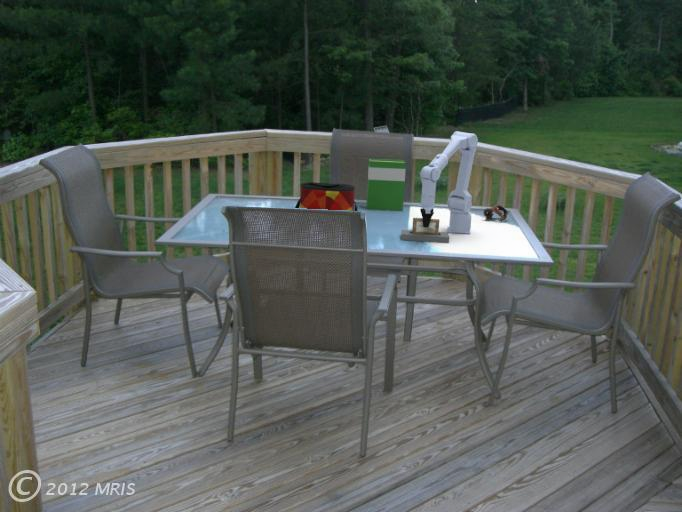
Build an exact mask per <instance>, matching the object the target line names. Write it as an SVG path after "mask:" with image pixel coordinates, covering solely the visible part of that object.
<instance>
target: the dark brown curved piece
mask: <svg viewBox="0 0 682 512" xmlns="http://www.w3.org/2000/svg"><path fill="white" fill-rule="evenodd" d="M494 215H498V216H499V218H500V219H498V221H499V222H500V221H502V222H503V221H505V220H506V219H507V218H508V215H509V211H508V210H507V209H506V208H505V207H504V206H502V205H499V204H495V205H494V206H492V207H490V208H489V207H487V208H485V209H484V210H483V216H484V217H485V219H486V218H487V219H486V220H490V217H492V218H493V216H494Z"/></svg>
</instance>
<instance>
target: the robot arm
mask: <svg viewBox="0 0 682 512" xmlns="http://www.w3.org/2000/svg"><path fill="white" fill-rule="evenodd" d="M478 142H479V138H478V136H477V134H476V133H469V132H463V131H459V130H456V131H454V132H453V134H452V135H451V136H450V141H449V143H448V144H447V146H446V147H445V148H444V150H443V151H442V153H438V154H436V155H435V157H434V158H433V159H432V160H431V162H429V163H428V165H425V166H424V167H422V168H421V170H420V173H419V177H420V179H421V199H420V204H417V207H418V208H419V210H420V214H421V218H423V227H429V224H430V220H431V219H432V217H433V215H434V214H435V211H434V209H435V208H436V206H435V205H436V204H435V200H436V188H437V181H438V180H439V179H440V177H441V174H442V172H443V170H444V168H445V167H446V166H447V165H448V164H449V159H450V158H451V157H452V156H453V155H454V154H455V153H456V152H457V151H458V150H459V152H460V153H461V156H460V157H461V158H460V164H459V167H458V169H459V170H458V175H457V179H456V185H455V189H454V190H452V191H451V192H450V193H449V196H448V199H447V201H446V204H447V208H448V211H449V213H450V214H449V225H448V226H447V232H448V233H452V234H453V233H454V234H471V226H472V225H471V224H472V213H471V212H470V210H471V209H472V207H473V204H472V201H473V200H472V199H473V196H472V194H470V192H469V191H468V190H469V185H470V181H471V180H470V179H471V175H472V169H473V164H474V158H475V153H476V152H477V147H478Z"/></svg>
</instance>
